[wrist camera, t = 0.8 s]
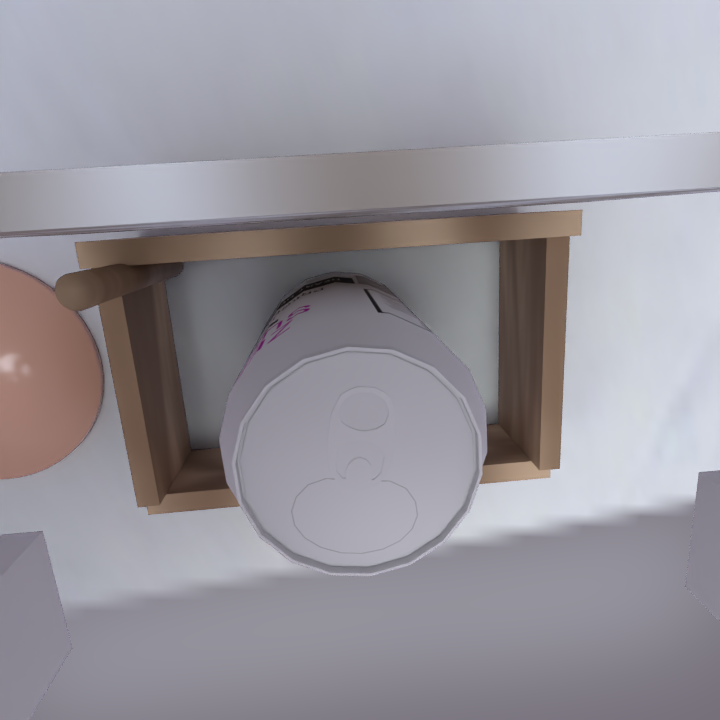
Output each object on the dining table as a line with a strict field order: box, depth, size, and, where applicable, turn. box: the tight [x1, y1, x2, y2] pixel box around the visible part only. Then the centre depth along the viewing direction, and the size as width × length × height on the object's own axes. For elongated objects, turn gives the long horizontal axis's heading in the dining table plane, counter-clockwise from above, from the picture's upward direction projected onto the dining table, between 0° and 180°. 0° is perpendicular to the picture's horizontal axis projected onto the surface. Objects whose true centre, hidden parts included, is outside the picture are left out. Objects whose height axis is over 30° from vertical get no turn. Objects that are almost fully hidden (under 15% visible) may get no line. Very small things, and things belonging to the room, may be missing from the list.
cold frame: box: [0, 132, 720, 515], centre depth 19 cm, size 20×14×20 cm
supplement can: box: [219, 272, 487, 576], centre depth 22 cm, size 8×8×15 cm
